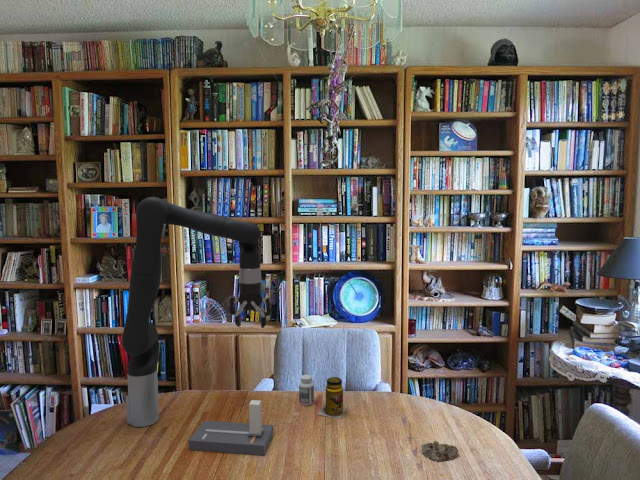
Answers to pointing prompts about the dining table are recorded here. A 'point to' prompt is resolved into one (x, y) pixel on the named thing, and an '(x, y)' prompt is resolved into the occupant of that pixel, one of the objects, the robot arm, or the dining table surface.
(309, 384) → the pill bottle
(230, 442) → the console
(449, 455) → the mineral rock
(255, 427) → the fader tab
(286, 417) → the dining table surface
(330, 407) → the condiment
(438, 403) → the dining table surface
